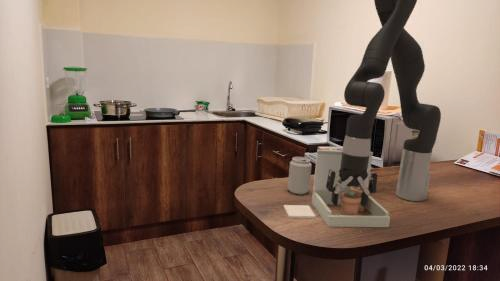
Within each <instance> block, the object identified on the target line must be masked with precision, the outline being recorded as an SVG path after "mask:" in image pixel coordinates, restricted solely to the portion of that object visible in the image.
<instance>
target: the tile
mask: <svg viewBox="0 0 500 281" xmlns="http://www.w3.org/2000/svg"><path fill="white" fill-rule="evenodd" d="M283 209H284V211H285V212H286V215H287V217H288V218H289V219H293V218H294V219H316V218H317V217H316V216H317V215H316V214H315V212H313V209H312V208H311V207H310V206H309V205H308V204H307V205H305V204H304V205H303V204H300V205H299V204H293V205H292V204H290V205H289V204H283Z"/></svg>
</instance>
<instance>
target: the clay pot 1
mask: <svg viewBox="0 0 500 281" xmlns="http://www.w3.org/2000/svg"><path fill="white" fill-rule="evenodd" d="M341 201H342V205H340V214H339V215H354V216H358V214H359V212H358V206H359V203H361V196H360V195H358V194H355V192H354V191H353V190H350V191H349V192H344V193H342V194H341Z"/></svg>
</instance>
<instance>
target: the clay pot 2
mask: <svg viewBox="0 0 500 281" xmlns="http://www.w3.org/2000/svg"><path fill="white" fill-rule="evenodd" d="M367 188H369V186H368V187H367ZM350 190H353V191H354V192H355V194H358V195H360V196H361V194H362V192H363V191H362V189H361V188H360V186H358V187H354V186H350ZM365 211H366V208H365V207H364V206H361V205H360V203H359V206H358V213H364V212H365Z"/></svg>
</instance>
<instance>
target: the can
mask: <svg viewBox="0 0 500 281" xmlns="http://www.w3.org/2000/svg"><path fill="white" fill-rule="evenodd" d="M291 159H292V160H291V161H289V170H288V182H287V189H288V190H289V192H290V193H292V194H294V195H306V194H307V193H308V192H310V185H311V184H310V183H311V175H312V163H311V159H309V158H308V157H305V156H293V157H292V158H291Z"/></svg>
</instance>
